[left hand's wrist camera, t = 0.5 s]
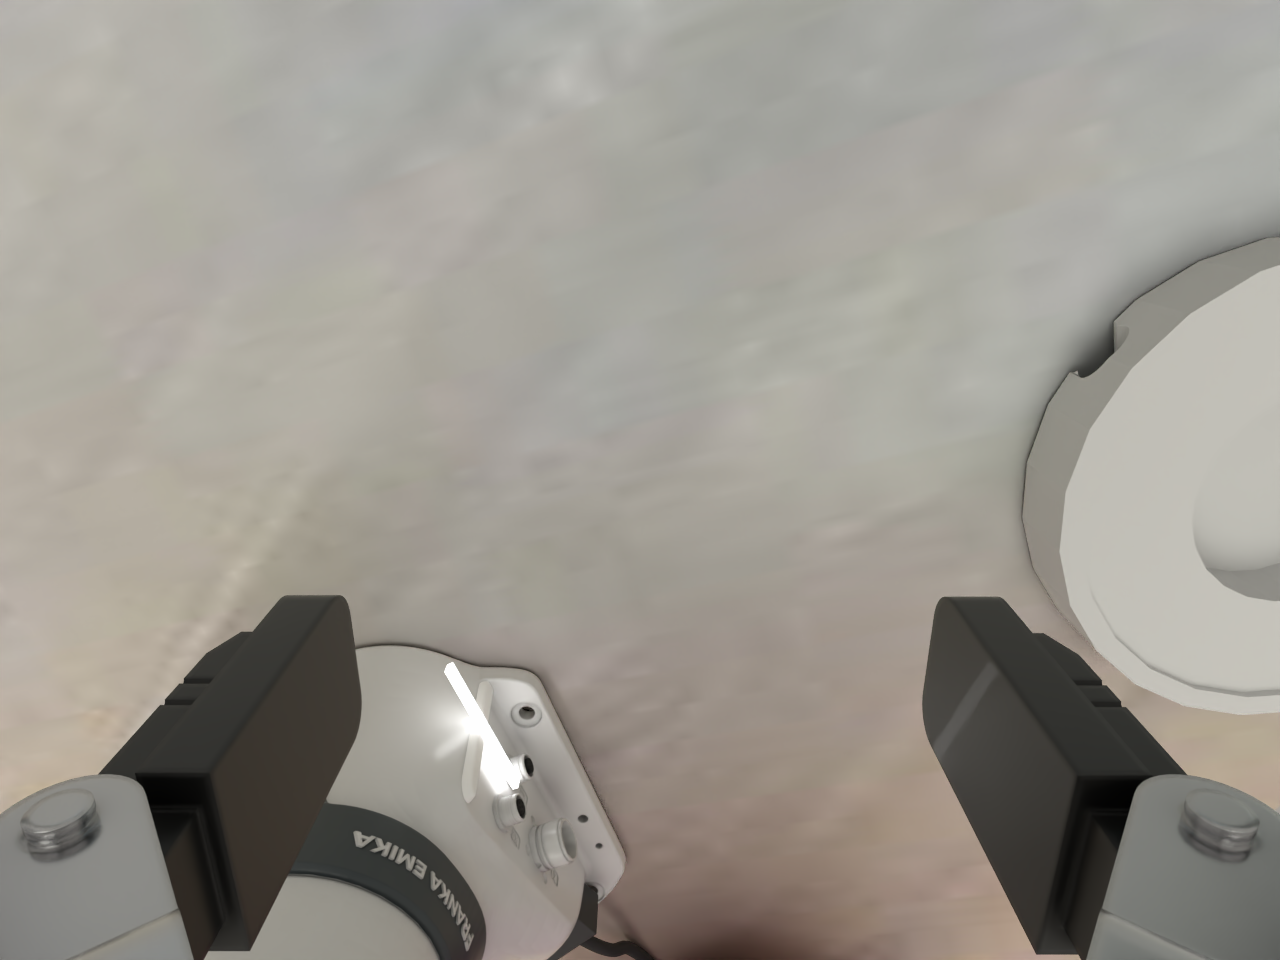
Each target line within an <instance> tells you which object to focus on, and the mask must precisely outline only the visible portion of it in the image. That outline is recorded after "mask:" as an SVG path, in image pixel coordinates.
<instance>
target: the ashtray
mask: <svg viewBox="0 0 1280 960" xmlns="http://www.w3.org/2000/svg"><path fill="white" fill-rule="evenodd" d="M1022 519H1023V524H1024V529H1025V533H1026V538H1027V542H1028V547H1029V552H1030V556H1031V561H1032V566H1033V569H1034V571H1035V572H1036V574H1037V576H1038V577H1039V579H1040V581H1041V582H1042V584H1043V586H1044V588H1045V589H1046V591H1047V593H1048V594H1049V596H1050V598H1051V599H1052V601H1053V603H1054V605H1055V606H1056V608H1057V610H1058V611H1059V612H1060V613H1061V614H1062V615H1063V616H1064V617H1065V618H1066V619H1067V620H1068V621H1069V622H1070V623H1071V624H1072V625H1073V627H1074V628H1075V629H1076V630H1077V631H1078V632H1079V633H1080V634H1081V635H1082V636H1083V637H1084V638H1085V639H1086V640H1087V641H1088V642H1089V643H1090V644H1091V646H1092V647H1093V648H1094V649H1095V650H1096V651H1097V652H1098V653H1100V654H1101V655H1102V656H1103V657H1104V658H1105V659H1107V660H1108V661H1109V662H1110V663H1111V664H1112V665H1113V666H1115V667H1116V668H1117V669H1118V670H1119V671H1120V672H1121V673H1123V674H1124V675H1125V676H1126V677H1127V678H1128V679H1130V680H1131V681H1132V682H1133V683H1134V684H1135V685H1138V686H1140V687H1142V688H1144V689H1147V690H1149V691H1151V692H1153V693H1156V694H1158V695H1160V696H1162V697H1165V698H1167V699H1169V700H1171V701H1174V702H1176V703H1178V704H1181V705H1183V706H1187V707H1193V708H1199V709H1206V710H1212V711H1218V712H1225V713H1231V714H1238V715H1248V714H1262V713H1276V712H1280V237H1272V238H1265V239H1262V240H1260V241H1257V242H1254V243H1251V244H1248V245H1245V246H1242V247H1239V248H1236V249H1233V250H1230V251H1227V252H1225V253H1222V254H1219V255H1216V256H1213V257H1210V258H1207V259H1204V260H1201V261H1198V262H1197V263H1195V264H1194V265H1192V266H1190V267H1189V268H1187V269H1185V270H1184V271H1182V272H1181V273H1179V274H1177V275H1176V276H1174V277H1172V278H1171V279H1169V280H1168V281H1166V282H1164V283H1163V284H1161V285H1159V286H1158V287H1156V288H1155V289H1153V290H1151V291H1150V292H1148V293H1146V294H1145V295H1143V296H1142V297H1140V298H1138V299H1137V300H1136V301H1135V302H1133V303H1132V304H1131V305H1130V306H1129V307H1128V308H1127V309H1126V310H1125V311H1124V312H1123V313H1122V314H1121V315H1120V316H1119V317H1118V318H1117V319H1116V320H1115V321H1114V354H1113V355H1111V356H1110V357H1109V358H1108V359H1107V360H1106V361H1105V363H1104V364H1103V365H1102V366H1101V367H1100V368H1099V369H1097V370H1096V371H1095V372H1094V373H1092V374H1091V375H1090V376H1087V377H1085V378H1081V377H1080V376H1079V375H1078V371H1076V372H1073V373H1072V372H1069V374H1068V375H1067V377H1066V378H1065V380H1064V381H1063V383H1062V385H1061V386H1060V388H1059V389H1058V391H1057V392H1056V394H1055V395H1054V397H1053V398H1052V400H1051V401H1050V403H1049V404H1048V406H1047V409H1046V412H1045V414H1044V417H1043V420H1042V423H1041V425H1040V428H1039V431H1038V434H1037V436H1036V439H1035V442H1034V445H1033V447H1032V450H1031V453H1030V456H1029V458H1028V461H1027V468H1026V480H1025V492H1024V503H1023V515H1022Z"/></svg>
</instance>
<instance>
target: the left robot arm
mask: <svg viewBox="0 0 1280 960" xmlns="http://www.w3.org/2000/svg"><path fill="white" fill-rule="evenodd" d="M922 707H923V719H924V725H925V730H926V734H927V737H928V740H929V742H930V745H931V747H932V749H933V751H934V753H935V755H936V757H937V759H938V761H939V762H940V764H941V766H942V768H943V770H944V772H945V774H946V776H947V778H948V780H949V782H950V784H951V786H952V788H953V790H954V792H955V794H956V796H957V798H958V800H959V802H960V804H961V806H962V808H963V810H964V812H965V814H966V816H967V818H968V820H969V822H970V824H971V826H972V828H973V830H974V832H975V834H976V836H977V838H978V840H979V842H980V844H981V846H982V848H983V850H984V852H985V854H986V856H987V858H988V860H989V862H990V863H991V865H992V867H993V869H994V871H995V873H996V875H997V877H998V879H999V881H1000V883H1001V885H1002V887H1003V889H1004V891H1005V893H1006V895H1007V897H1008V899H1009V901H1010V903H1011V905H1012V907H1013V909H1014V911H1015V913H1016V915H1017V917H1018V919H1019V921H1020V923H1021V925H1022V927H1023V929H1024V931H1025V933H1026V935H1027V937H1028V939H1029V941H1030V943H1031V945H1032V947H1033V949H1034V951H1035V953H1036V954H1078V955H1079V956H1080V958H1081V960H1280V814H1278V813H1277V812H1276V811H1274V810H1273V809H1271V808H1270V807H1269V806H1267V805H1266V804H1264V803H1262V802H1261V801H1259V800H1257V799H1256V798H1254V797H1252V796H1250V795H1248V794H1246V793H1244V792H1242V791H1240V790H1238V789H1235V788H1233V787H1230V786H1228V785H1225V784H1222V783H1219V782H1216V781H1213V780H1209V779H1205V778H1201V777H1196V776H1189V775H1187V774H1186V773H1185V772H1184V771H1183V770H1182V769H1181V767H1180V766H1179V765H1178V764H1177V763H1176V762H1175V761H1174V760H1173V759H1172V758H1171V756H1170V755H1169V754H1168V753H1167V752H1166V751H1165V750H1164V749H1163V748H1162V746H1161V745H1160V744H1159V743H1158V742H1157V741H1156V740H1155V739H1154V738H1153V736H1152V735H1151V734H1150V733H1149V732H1148V731H1147V730H1146V729H1145V728H1144V727H1143V725H1142V724H1141V723H1140V722H1139V721H1138V720H1137V719H1136V718H1135V717H1134V715H1133V714H1132V713H1131V712H1130V711H1129V710H1128V709H1127V708H1126V707H1122V706H1121V701H1120V700H1119V699H1118V698H1117V697H1116V696H1115V694H1114V693H1113V692H1112V691H1111V690H1110V689H1109V688H1108V687H1107V686H1103V685H1102V680H1101V679H1100V678H1099V677H1098V676H1097V675H1096V673H1095V672H1094V671H1093V670H1092V669H1091V668H1090V667H1089V666H1088V665H1087V663H1086V662H1085V661H1084V660H1083V659H1082V658H1081V657H1080V656H1079V655H1078V654H1076V653H1075V652H1073V651H1072V650H1070V649H1068V648H1067V647H1065V646H1063V645H1062V644H1060V643H1058V642H1057V641H1055V640H1054V639H1052V638H1050V637H1049V636H1047V635H1045V634H1044V633H1032V632H1031V631H1030V630H1029V628H1028V627H1027V626H1026V625H1025V624H1024V622H1023V621H1022V620H1021V619H1020V618H1019V617H1018V615H1017V614H1016V613H1015V612H1014V611H1013V609H1012V608H1011V607H1010V606H1009V605H1008V604H1007V602H1006V601H1005V600H1004V599H1002V598H1001V597H942V598H941V599H940V600H939V602H938V604H937V606H936V609H935V614H934V620H933V627H932V634H931V641H930V648H929V655H928V662H927V669H926V676H925V683H924V690H923V701H922ZM361 710H362V695H361V686H360V679H359V672H358V665H357V658H356V651H355V644H354V637H353V630H352V622H351V615H350V610H349V606H348V603H347V601H346V600H345V598H344V597H343V596H340V595H287V596H284V597H282V598H281V599H280V600H279V601H278V602H277V603H276V605H275V606H274V607H273V608H272V609H271V611H270V612H269V613H268V614H267V615H266V616H265V618H264V619H263V620H262V621H261V622H260V624H259V625H258V626H257V627H256V628H255V630H254V631H253V632H240V633H239V634H237V635H236V636H234V637H232V638H231V639H229V640H227V641H226V642H224V643H223V644H221V645H219V646H218V647H216V648H214V649H213V650H211V651H210V652H208V653H206V655H205V656H204V657H203V658H202V659H201V660H200V661H199V662H198V663H197V665H196V666H195V667H194V668H193V669H192V670H191V671H190V672H189V674H188V675H187V676H186V677H185V678H184V683H183V684H179V685H178V686H177V687H176V688H175V689H174V690H173V691H172V692H171V694H170V695H169V696H168V697H167V698H166V699H165V705H160V706H159V707H158V708H157V709H156V710H155V711H154V713H153V714H152V715H151V716H150V717H149V718H148V719H147V720H146V722H145V723H144V724H143V725H142V726H141V727H140V728H139V729H138V730H137V732H136V733H135V734H134V735H133V736H132V737H131V738H130V739H129V741H128V742H127V743H126V744H125V745H124V746H123V747H122V748H121V749H120V751H119V752H118V753H117V754H116V755H115V756H114V757H113V758H112V760H111V761H110V762H109V763H108V764H107V765H106V766H105V767H104V768H103V770H102V771H101V772H100V773H99V774H98V775H91V776H84V777H79V778H75V779H71V780H67V781H64V782H61V783H58V784H55V785H52V786H50V787H47V788H45V789H42V790H40V791H38V792H36V793H34V794H32V795H30V796H28V797H26V798H24V799H23V800H21V801H19V802H18V803H16V804H14V805H13V806H11V807H10V808H9V809H7V810H6V811H4V812H3V813H2V814H0V960H204V958H205V957H206V955H207V953H208V951H250V950H251V948H252V946H253V944H254V942H255V940H256V938H257V936H258V934H259V932H260V930H261V928H262V926H263V924H264V922H265V920H266V918H267V916H268V914H269V912H270V910H271V908H272V906H273V904H274V902H275V900H276V898H277V896H278V894H279V892H280V890H281V888H282V886H283V884H284V882H285V880H286V878H287V876H288V874H289V872H290V870H291V868H292V866H293V864H294V862H295V860H296V858H297V856H298V854H299V852H300V850H301V848H302V846H303V844H304V842H305V840H306V838H307V836H308V834H309V832H310V830H311V828H312V826H313V824H314V822H315V820H316V818H317V816H318V814H319V812H320V810H321V808H322V806H323V804H324V802H325V800H326V798H327V796H328V794H329V792H330V790H331V788H332V786H333V784H334V782H335V780H336V778H337V776H338V774H339V772H340V770H341V768H342V766H343V764H344V762H345V760H346V758H347V756H348V754H349V752H350V750H351V748H352V746H353V744H354V741H355V739H356V736H357V733H358V730H359V725H360V719H361Z"/></svg>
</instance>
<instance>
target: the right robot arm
mask: <svg viewBox="0 0 1280 960" xmlns="http://www.w3.org/2000/svg"><path fill="white" fill-rule="evenodd" d="M355 651H356V658H357V665H358V672H359V679H360V686H361V695H362V710H361V719H360V725H359V730H358V733H357V736H356V739H355V741H354V744H353V746H352V748H351V750H350V752H349V754H348V756H347V758H346V760H345V762H344V764H343V766H342V768H341V770H340V772H339V774H338V776H337V778H336V780H335V782H334V784H333V786H332V788H331V790H330V792H329V794H328V796H327V798H326V800H325V802H324V804H323V806H322V808H321V810H320V812H319V814H318V816H317V818H316V820H315V822H314V824H313V826H312V828H311V830H310V832H309V834H308V836H307V838H306V840H305V842H304V844H303V846H302V848H301V850H300V852H299V854H298V856H297V858H296V860H295V862H294V864H293V866H292V868H291V870H290V872H289V874H288V876H287V878H286V880H285V882H284V884H283V886H282V888H281V890H280V892H279V894H278V896H277V898H276V900H275V902H274V904H273V906H272V908H271V910H270V912H269V914H268V916H267V918H266V920H265V922H264V924H263V926H262V928H261V930H260V932H259V934H258V936H257V938H256V940H255V942H254V944H253V946H252V948H251V950H250V951H208V953H207V955H206V957H205V958H204V960H558V959H559V958H561V957H562V956H564V955H565V954H567V953H568V952H570V951H571V950H573V949H574V948H576V947H577V946H579V945H581V946H583V947H585V948H587V949H589V950H591V951H593V952H596V953H598V954H601V955H604V956H609V957H617V956H621V955H623V954H627V955H629V956H631V957H633V958H634V959H636V960H654V959H653V958H652V957H651V956H650V955H649V954H648V953H647V952H646V951H644V950H643V949H642V948H641V947H639V946H637V945H636V944H634V943H632V942H630V941H620V942H617V943H614V944H612V943H608V942H605V941H602V940H600V939H598V938H596V937H594V935H596V929H597V911H598V904H599V903H600V902H601V901H602V900H603V899H604V898H605V897H606V896H607V895H608V894H609V893H610V892H611V891H612V890H613V888H614V887H615V886H616V884H617V883H618V881H619V880H620V878H621V876H622V875H623V873H624V869H625V863H626V856H625V853H624V850H623V848H622V846H621V844H620V842H619V840H618V838H617V836H616V834H615V832H614V830H613V827H612V825H611V823H610V821H609V819H608V817H607V815H606V813H605V811H604V809H603V807H602V805H601V803H600V801H599V799H598V797H597V795H596V793H595V791H594V789H593V787H592V785H591V783H590V781H589V778H588V776H587V774H586V772H585V770H584V768H583V766H582V764H581V762H580V760H579V758H578V756H577V754H576V752H575V750H574V748H573V746H572V744H571V742H570V740H569V738H568V736H567V734H566V731H565V729H564V727H563V725H562V723H561V721H560V719H559V717H558V715H557V713H556V711H555V709H554V707H553V705H552V703H551V701H550V699H549V697H548V695H547V693H546V691H545V689H544V687H543V685H542V683H541V681H540V680H539V678H538V677H537V676H536V675H534V674H533V673H531V672H529V671H526V670H522V669H517V668H504V667H478V666H474V665H470V664H467V663H464V662H462V661H459V660H456V659H454V658H451V657H448V656H446V655H443V654H440V653H437V652H434V651H430V650H426V649H421V648H415V647H408V646H394V645H389V646H372V647H365V648H360V649H355ZM525 706H527V707H531V708H532V709H533V711H525V710H523V709H522V707H525ZM589 886H594V887H589Z"/></svg>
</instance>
